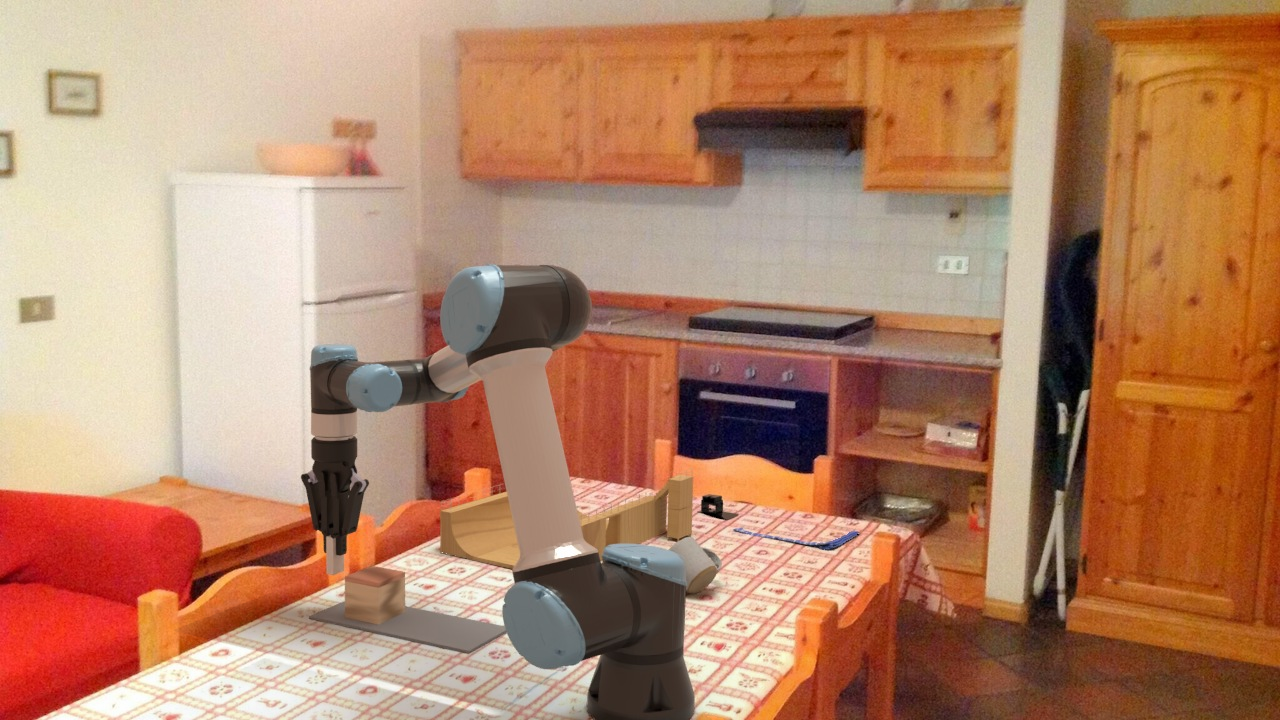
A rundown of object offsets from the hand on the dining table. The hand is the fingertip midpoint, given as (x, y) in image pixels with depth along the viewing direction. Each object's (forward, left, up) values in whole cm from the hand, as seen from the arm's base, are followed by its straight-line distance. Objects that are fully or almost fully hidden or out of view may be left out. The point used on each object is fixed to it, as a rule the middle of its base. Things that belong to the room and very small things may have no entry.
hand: (335, 572), depth 195 cm
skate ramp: (+53, -16, -7) cm, 56 cm away
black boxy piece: (+91, -33, -8) cm, 97 cm away
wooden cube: (0, -8, -6) cm, 10 cm away
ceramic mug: (+41, -49, -7) cm, 65 cm away
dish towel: (+86, -54, -7) cm, 102 cm away
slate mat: (0, -15, -6) cm, 17 cm away
